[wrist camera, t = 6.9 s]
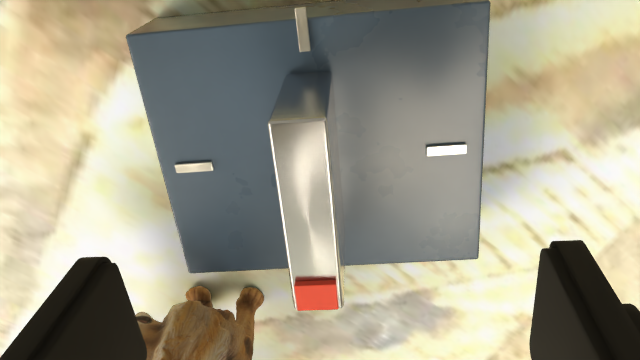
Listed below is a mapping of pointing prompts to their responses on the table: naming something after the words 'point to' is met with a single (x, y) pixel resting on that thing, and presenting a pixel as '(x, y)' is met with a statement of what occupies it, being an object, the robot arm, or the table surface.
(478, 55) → the panel
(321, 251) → the tap handle
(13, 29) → the table surface
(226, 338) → the lion figurine
